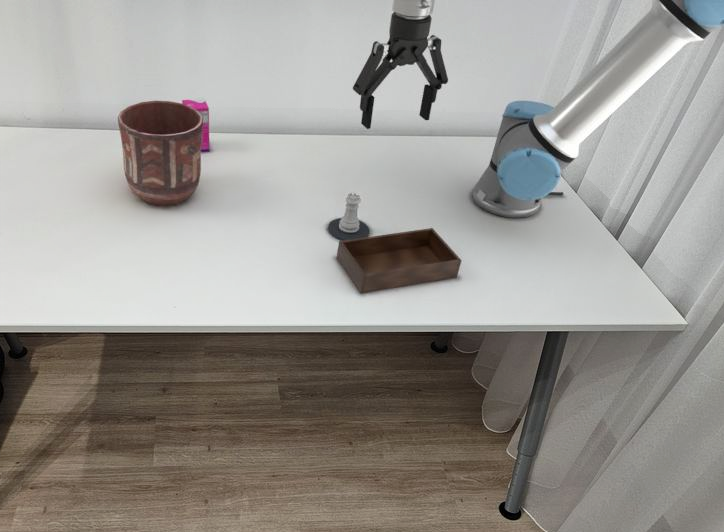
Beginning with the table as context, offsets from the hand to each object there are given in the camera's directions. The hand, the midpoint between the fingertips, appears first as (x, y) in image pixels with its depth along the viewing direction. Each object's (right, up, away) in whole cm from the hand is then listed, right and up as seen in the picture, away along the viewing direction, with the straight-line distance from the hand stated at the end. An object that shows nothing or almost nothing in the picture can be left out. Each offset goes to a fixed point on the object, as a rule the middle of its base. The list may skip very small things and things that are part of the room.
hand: (395, 122), depth 151 cm
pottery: (-50, -12, +15) cm, 53 cm away
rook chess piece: (-9, -21, +7) cm, 24 cm away
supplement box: (-44, +4, +32) cm, 55 cm away
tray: (0, -31, -3) cm, 31 cm away
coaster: (-9, -21, +7) cm, 24 cm away
